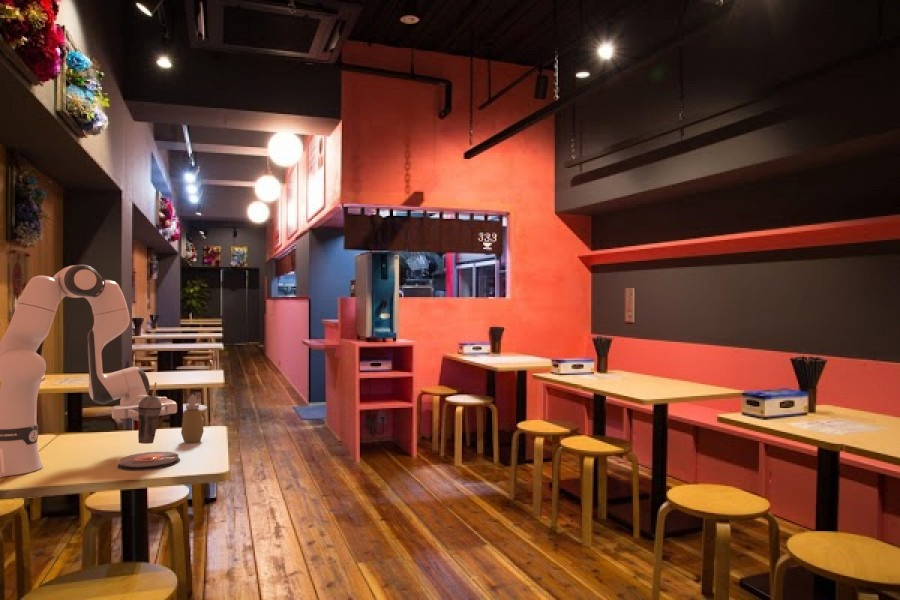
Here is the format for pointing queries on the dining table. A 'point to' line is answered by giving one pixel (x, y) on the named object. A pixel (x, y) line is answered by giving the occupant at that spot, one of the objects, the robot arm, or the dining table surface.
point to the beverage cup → (148, 418)
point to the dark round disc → (148, 460)
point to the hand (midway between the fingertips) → (149, 413)
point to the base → (148, 468)
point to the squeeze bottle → (192, 422)
